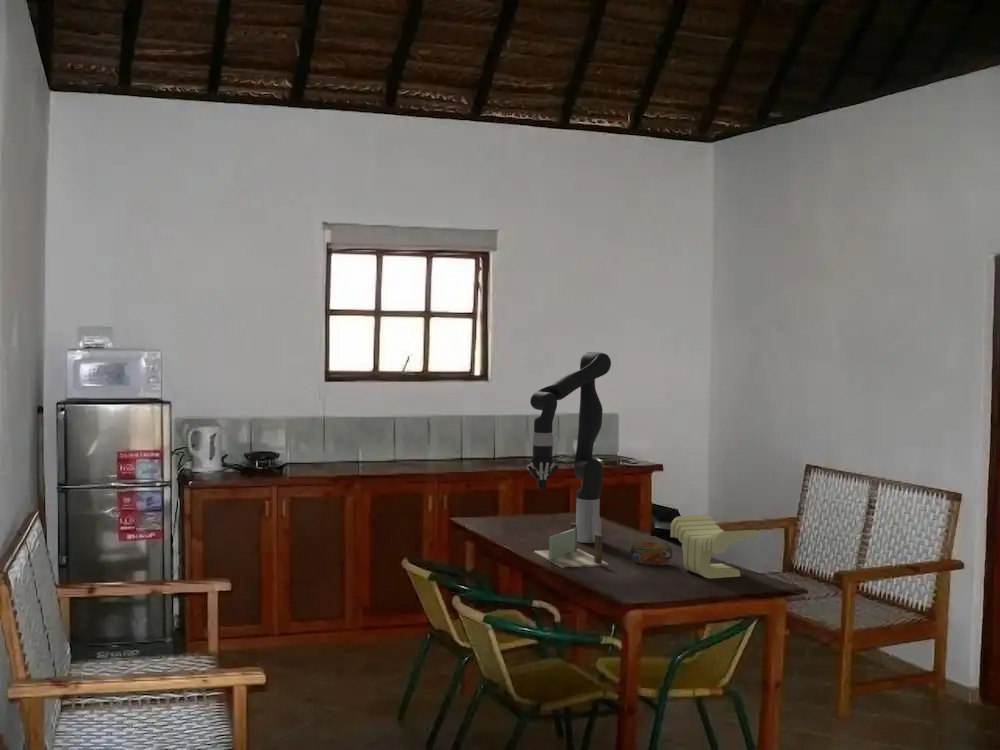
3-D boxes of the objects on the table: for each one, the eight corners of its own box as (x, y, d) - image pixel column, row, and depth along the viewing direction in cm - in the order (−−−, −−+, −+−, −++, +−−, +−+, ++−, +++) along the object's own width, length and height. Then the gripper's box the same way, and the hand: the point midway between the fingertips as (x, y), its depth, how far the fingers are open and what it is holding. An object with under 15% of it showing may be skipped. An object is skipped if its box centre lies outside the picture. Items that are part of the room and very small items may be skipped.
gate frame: (578, 550, 417) (578, 522, 417) (608, 565, 392) (608, 535, 391) (534, 553, 411) (534, 524, 411) (561, 568, 386) (562, 538, 385)
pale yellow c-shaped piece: (669, 565, 394) (670, 516, 393) (708, 563, 400) (709, 514, 399) (713, 584, 366) (715, 531, 365) (754, 581, 372) (756, 529, 371)
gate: (577, 549, 413) (578, 527, 413) (552, 559, 395) (552, 536, 395) (573, 549, 414) (574, 527, 413) (548, 558, 396) (548, 535, 396)
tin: (630, 562, 398) (630, 539, 398) (632, 561, 401) (632, 538, 400) (671, 566, 393) (671, 543, 392) (672, 565, 396) (673, 541, 395)
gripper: (555, 442, 423) (554, 487, 424) (523, 443, 418) (522, 488, 419) (562, 444, 416) (561, 490, 416) (530, 445, 411) (529, 491, 412)
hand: (541, 489), depth 418 cm, fingers closed
